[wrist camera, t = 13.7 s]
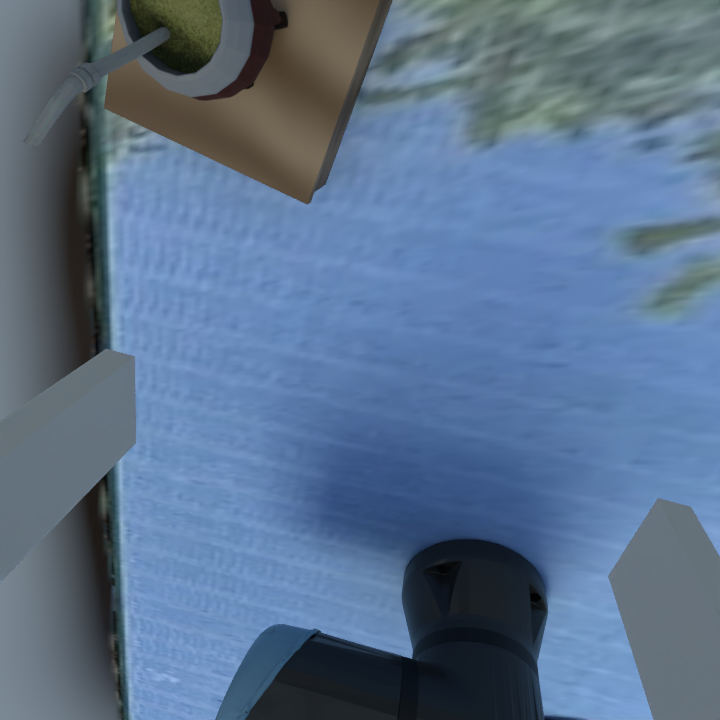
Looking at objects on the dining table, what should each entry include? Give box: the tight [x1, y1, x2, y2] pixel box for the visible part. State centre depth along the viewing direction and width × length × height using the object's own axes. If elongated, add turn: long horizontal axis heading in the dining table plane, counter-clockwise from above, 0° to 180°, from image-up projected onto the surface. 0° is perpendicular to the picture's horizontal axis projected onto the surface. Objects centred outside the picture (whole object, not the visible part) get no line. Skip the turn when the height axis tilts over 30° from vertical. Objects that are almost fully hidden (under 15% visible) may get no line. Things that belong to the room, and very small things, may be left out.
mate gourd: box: [24, 0, 288, 148], centre depth 23 cm, size 8×8×15 cm
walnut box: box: [104, 0, 393, 205], centre depth 32 cm, size 15×15×6 cm
